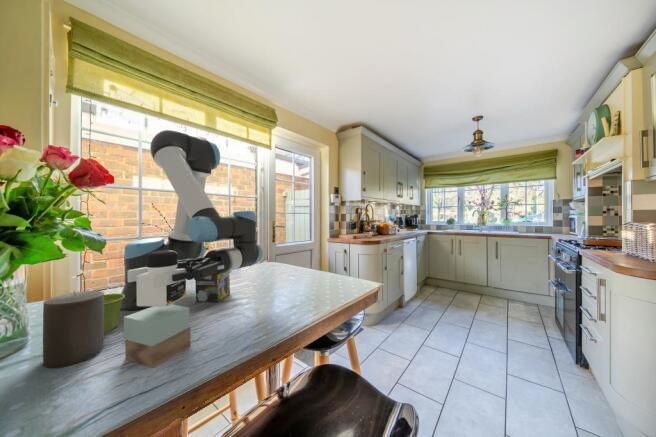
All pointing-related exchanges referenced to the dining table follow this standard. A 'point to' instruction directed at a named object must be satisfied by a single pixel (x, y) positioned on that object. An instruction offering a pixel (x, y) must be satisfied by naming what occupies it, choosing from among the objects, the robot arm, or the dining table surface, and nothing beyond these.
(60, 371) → the dining table surface
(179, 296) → the medicine bottle
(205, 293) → the chalk box
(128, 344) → the tower base block
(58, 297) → the pillar candle
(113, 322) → the plant pot
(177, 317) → the tower top block
